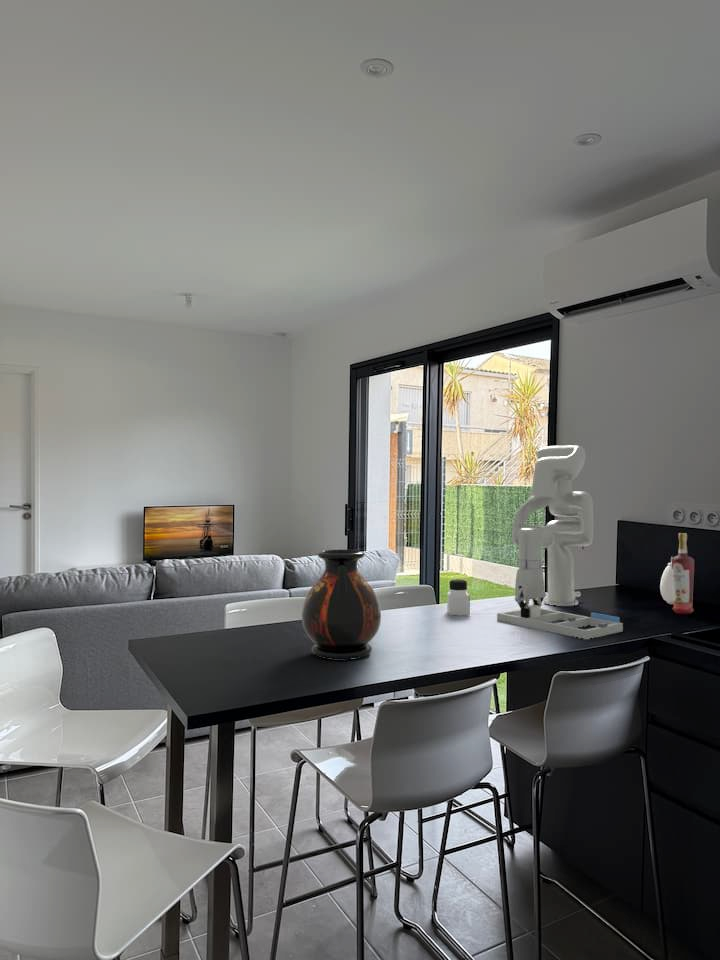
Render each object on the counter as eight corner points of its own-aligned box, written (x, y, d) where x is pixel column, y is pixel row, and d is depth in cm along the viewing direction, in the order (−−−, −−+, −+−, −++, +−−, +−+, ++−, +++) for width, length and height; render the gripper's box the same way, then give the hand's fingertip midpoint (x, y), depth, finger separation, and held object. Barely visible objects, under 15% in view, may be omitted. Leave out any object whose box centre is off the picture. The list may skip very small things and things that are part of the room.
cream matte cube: (529, 618, 239) (529, 603, 239) (540, 620, 235) (540, 605, 235) (520, 620, 236) (520, 605, 236) (531, 622, 232) (531, 607, 232)
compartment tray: (534, 613, 247) (534, 602, 247) (623, 630, 219) (623, 618, 219) (497, 620, 235) (497, 608, 235) (586, 639, 207) (586, 626, 207)
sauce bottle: (655, 603, 266) (655, 555, 266) (669, 601, 269) (669, 554, 269) (673, 606, 259) (673, 557, 259) (687, 604, 262) (687, 556, 262)
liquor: (698, 613, 245) (698, 533, 245) (687, 616, 241) (686, 534, 241) (679, 610, 251) (678, 532, 251) (667, 612, 247) (667, 533, 247)
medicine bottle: (469, 615, 244) (469, 581, 244) (449, 615, 244) (449, 581, 244) (467, 611, 251) (467, 578, 251) (447, 611, 251) (447, 578, 251)
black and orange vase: (303, 645, 202) (302, 548, 202) (377, 644, 203) (377, 547, 203) (301, 665, 180) (300, 556, 180) (384, 663, 182) (384, 555, 182)
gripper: (537, 561, 244) (538, 614, 244) (504, 565, 233) (504, 620, 234) (555, 563, 238) (555, 617, 238) (522, 567, 227) (522, 624, 228)
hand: (530, 618), depth 236 cm, fingers open, 4 cm apart
